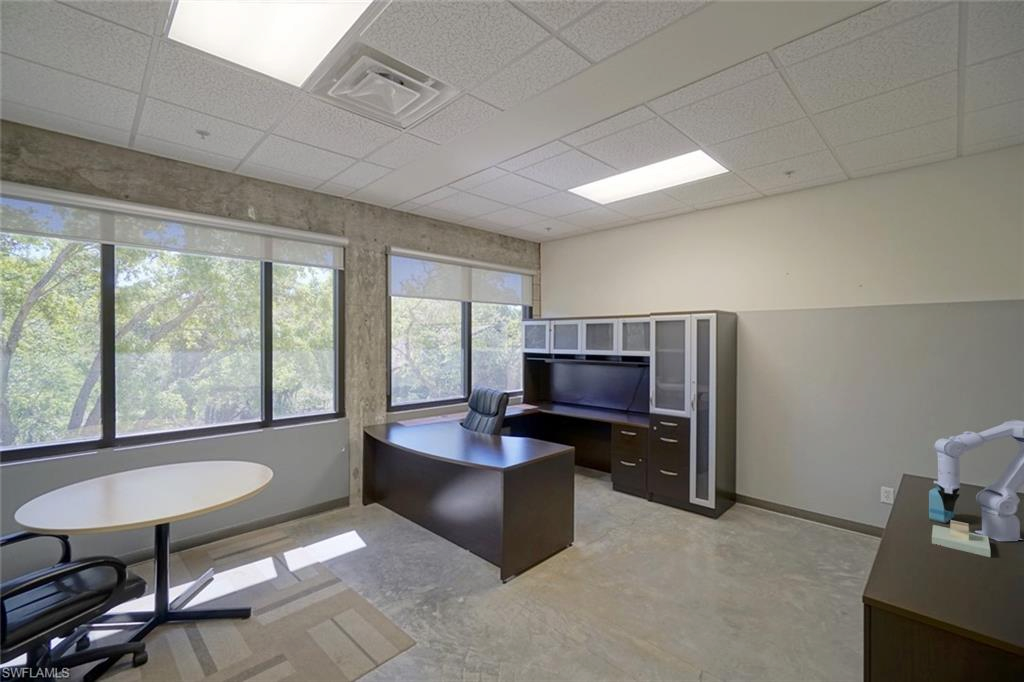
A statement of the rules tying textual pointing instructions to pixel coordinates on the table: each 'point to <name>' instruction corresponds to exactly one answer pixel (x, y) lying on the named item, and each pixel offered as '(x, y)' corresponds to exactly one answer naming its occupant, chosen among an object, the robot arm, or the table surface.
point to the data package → (938, 507)
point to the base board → (961, 541)
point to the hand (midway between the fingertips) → (948, 508)
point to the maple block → (959, 530)
